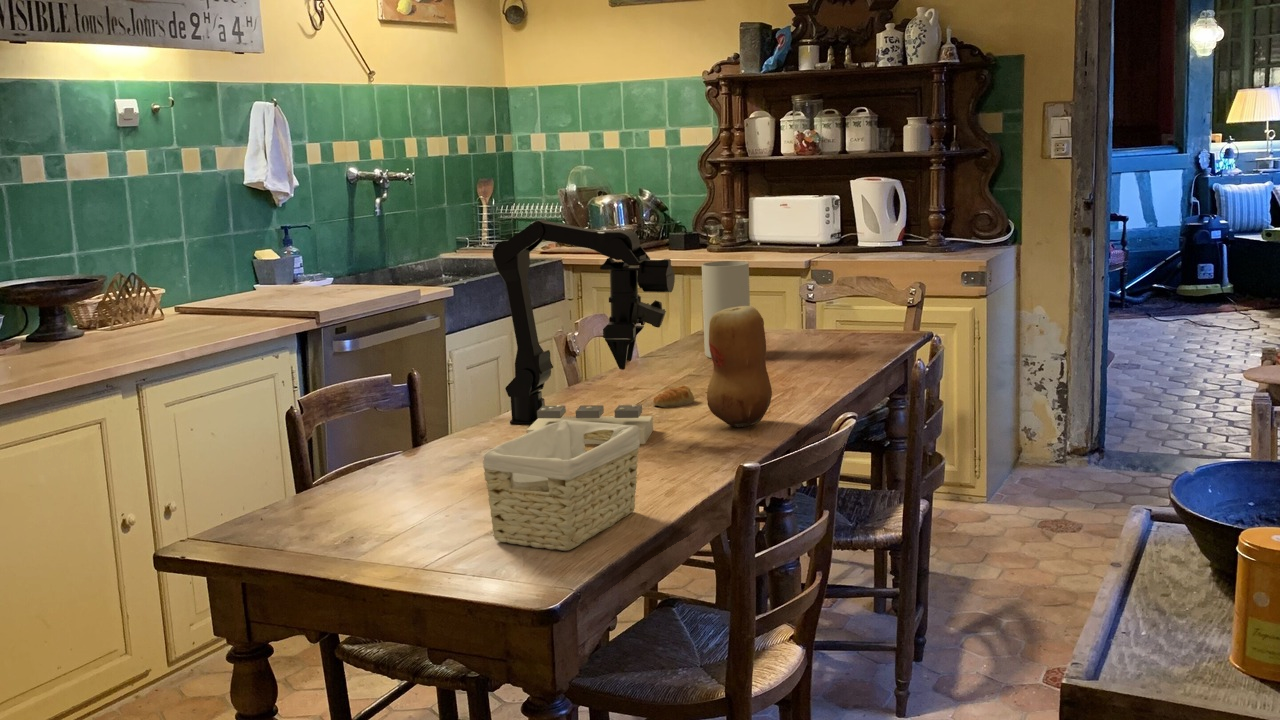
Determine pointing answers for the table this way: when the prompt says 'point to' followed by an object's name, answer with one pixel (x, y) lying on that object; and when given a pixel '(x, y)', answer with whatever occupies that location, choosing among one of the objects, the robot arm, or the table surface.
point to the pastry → (674, 397)
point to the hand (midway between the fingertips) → (625, 364)
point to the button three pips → (551, 411)
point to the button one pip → (589, 411)
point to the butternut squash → (738, 367)
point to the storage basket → (561, 483)
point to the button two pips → (628, 411)
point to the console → (642, 422)
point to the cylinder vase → (723, 290)
